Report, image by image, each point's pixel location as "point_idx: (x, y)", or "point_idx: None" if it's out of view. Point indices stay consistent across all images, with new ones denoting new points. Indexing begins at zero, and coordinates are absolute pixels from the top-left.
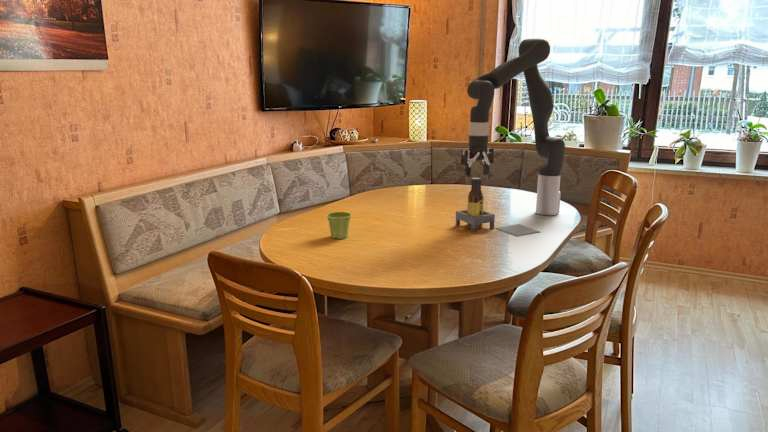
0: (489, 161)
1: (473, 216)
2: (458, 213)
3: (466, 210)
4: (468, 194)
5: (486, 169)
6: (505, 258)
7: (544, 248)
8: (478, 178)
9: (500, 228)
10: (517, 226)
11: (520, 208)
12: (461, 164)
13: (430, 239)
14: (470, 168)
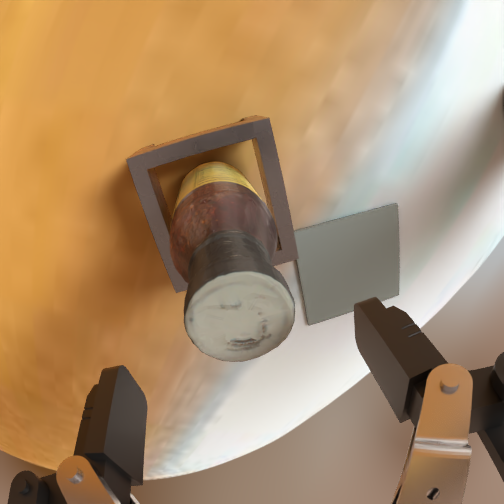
0: (469, 430)
1: (181, 276)
2: (134, 180)
3: (189, 153)
4: (171, 236)
5: (381, 382)
6: (190, 437)
7: (309, 403)
8: (257, 333)
9: (303, 244)
10: (374, 232)
11: (491, 19)
12: (23, 483)
13: (28, 300)
14: (137, 473)
